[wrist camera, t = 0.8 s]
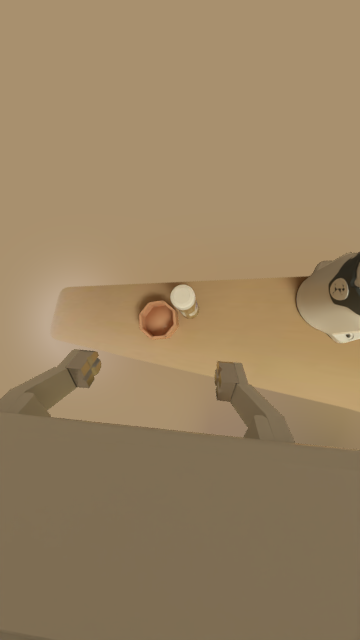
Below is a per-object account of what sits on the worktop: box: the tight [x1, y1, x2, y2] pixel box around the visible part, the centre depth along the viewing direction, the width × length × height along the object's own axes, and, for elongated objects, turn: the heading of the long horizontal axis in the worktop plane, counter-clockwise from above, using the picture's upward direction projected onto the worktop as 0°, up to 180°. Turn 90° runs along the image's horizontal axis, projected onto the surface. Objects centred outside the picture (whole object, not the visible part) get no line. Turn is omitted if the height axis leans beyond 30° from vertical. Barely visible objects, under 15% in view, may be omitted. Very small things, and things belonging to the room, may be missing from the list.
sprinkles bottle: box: [170, 284, 199, 319], centre depth 36 cm, size 5×5×13 cm
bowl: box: [139, 301, 179, 340], centre depth 42 cm, size 9×9×4 cm
